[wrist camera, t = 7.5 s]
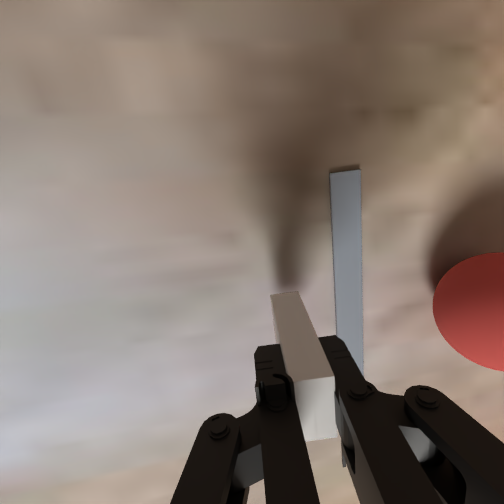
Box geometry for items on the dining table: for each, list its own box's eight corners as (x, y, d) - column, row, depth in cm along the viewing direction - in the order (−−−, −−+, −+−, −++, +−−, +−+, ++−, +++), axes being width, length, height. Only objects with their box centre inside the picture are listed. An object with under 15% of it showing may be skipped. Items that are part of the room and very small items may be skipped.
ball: (555, 234, 17) (429, 234, 18) (646, 297, 12) (459, 289, 13) (527, 325, 19) (418, 317, 21) (592, 409, 14) (440, 390, 16)
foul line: (329, 173, 17) (330, 173, 16) (359, 169, 17) (360, 169, 16) (338, 386, 21) (339, 388, 21) (362, 382, 21) (363, 384, 21)
